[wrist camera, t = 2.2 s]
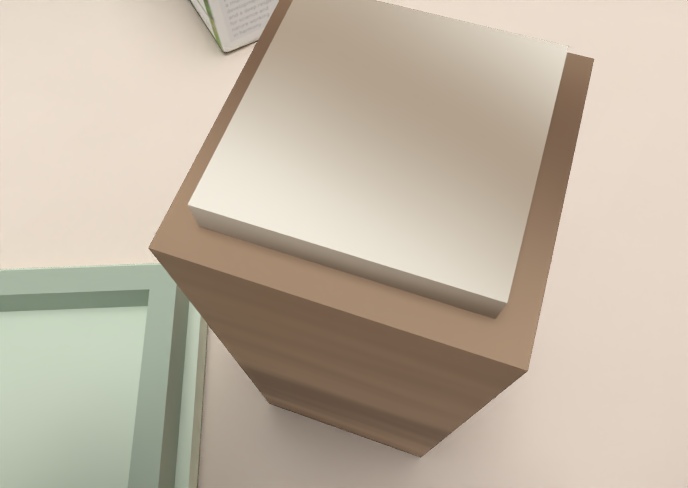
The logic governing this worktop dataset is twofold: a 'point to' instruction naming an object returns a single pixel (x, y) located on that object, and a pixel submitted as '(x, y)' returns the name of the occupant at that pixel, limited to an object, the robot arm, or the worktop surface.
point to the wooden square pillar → (380, 213)
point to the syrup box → (235, 20)
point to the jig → (99, 378)
